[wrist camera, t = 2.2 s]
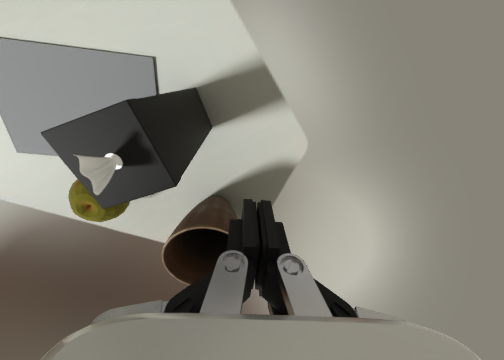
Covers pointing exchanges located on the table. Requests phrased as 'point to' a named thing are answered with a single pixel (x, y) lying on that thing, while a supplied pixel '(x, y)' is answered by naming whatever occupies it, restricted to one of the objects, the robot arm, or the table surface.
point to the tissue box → (133, 145)
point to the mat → (63, 87)
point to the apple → (91, 205)
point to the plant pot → (198, 240)
